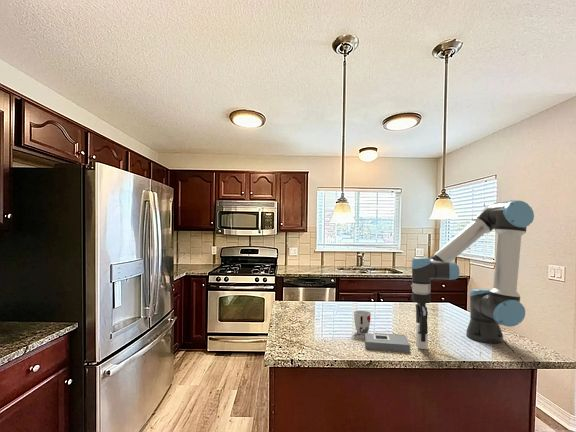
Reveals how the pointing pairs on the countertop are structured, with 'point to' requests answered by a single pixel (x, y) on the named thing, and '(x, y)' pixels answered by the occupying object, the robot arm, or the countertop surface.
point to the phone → (390, 334)
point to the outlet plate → (387, 342)
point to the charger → (418, 336)
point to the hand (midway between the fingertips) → (421, 346)
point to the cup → (362, 321)
